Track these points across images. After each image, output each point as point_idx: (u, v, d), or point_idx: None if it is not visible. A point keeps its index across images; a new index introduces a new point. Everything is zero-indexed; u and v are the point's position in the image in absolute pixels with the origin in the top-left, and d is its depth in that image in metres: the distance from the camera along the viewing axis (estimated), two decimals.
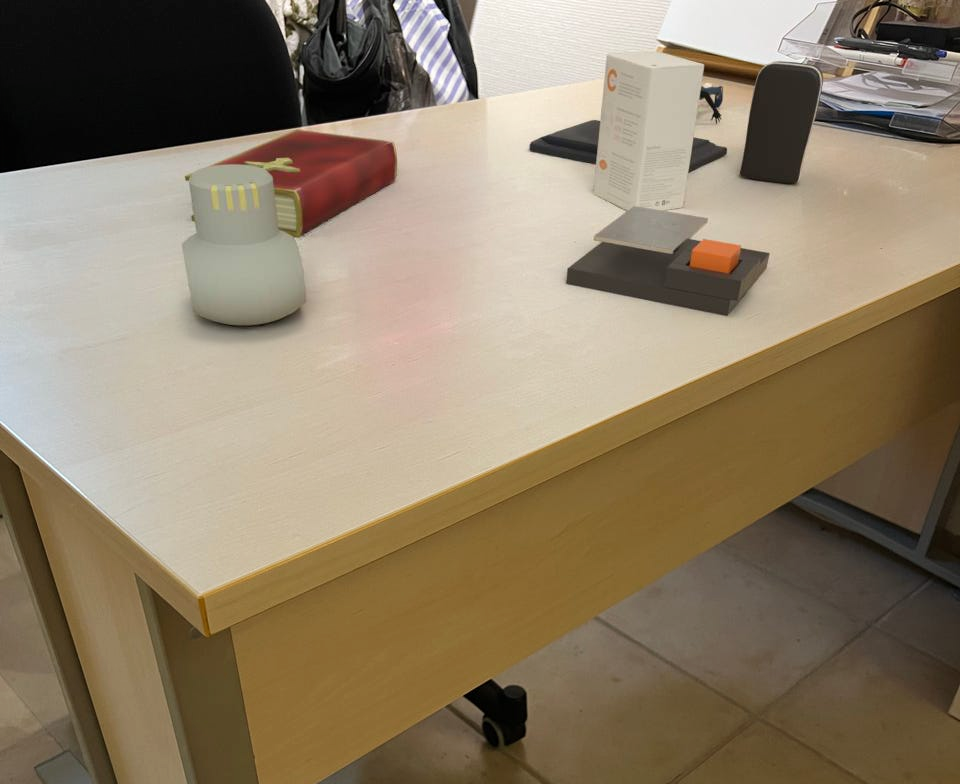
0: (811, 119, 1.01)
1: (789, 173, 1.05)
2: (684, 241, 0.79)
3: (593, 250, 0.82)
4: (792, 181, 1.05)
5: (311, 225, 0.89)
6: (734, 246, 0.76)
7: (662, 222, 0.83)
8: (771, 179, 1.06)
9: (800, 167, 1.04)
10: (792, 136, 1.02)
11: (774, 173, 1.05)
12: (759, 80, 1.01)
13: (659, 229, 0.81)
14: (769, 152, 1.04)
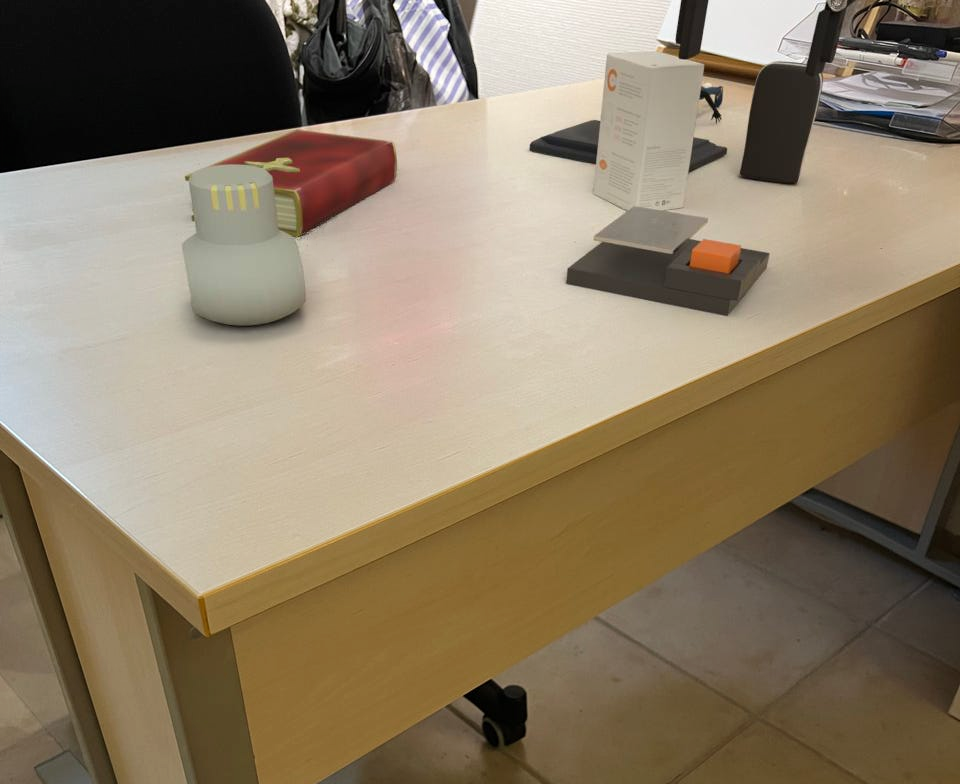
0: (811, 119, 1.01)
1: (789, 173, 1.05)
2: (684, 241, 0.79)
3: (593, 250, 0.82)
4: (792, 181, 1.05)
5: (311, 225, 0.89)
6: (734, 246, 0.76)
7: (662, 222, 0.83)
8: (771, 179, 1.06)
9: (800, 167, 1.04)
10: (792, 136, 1.02)
11: (774, 173, 1.05)
12: (759, 80, 1.01)
13: (659, 229, 0.81)
14: (769, 152, 1.04)
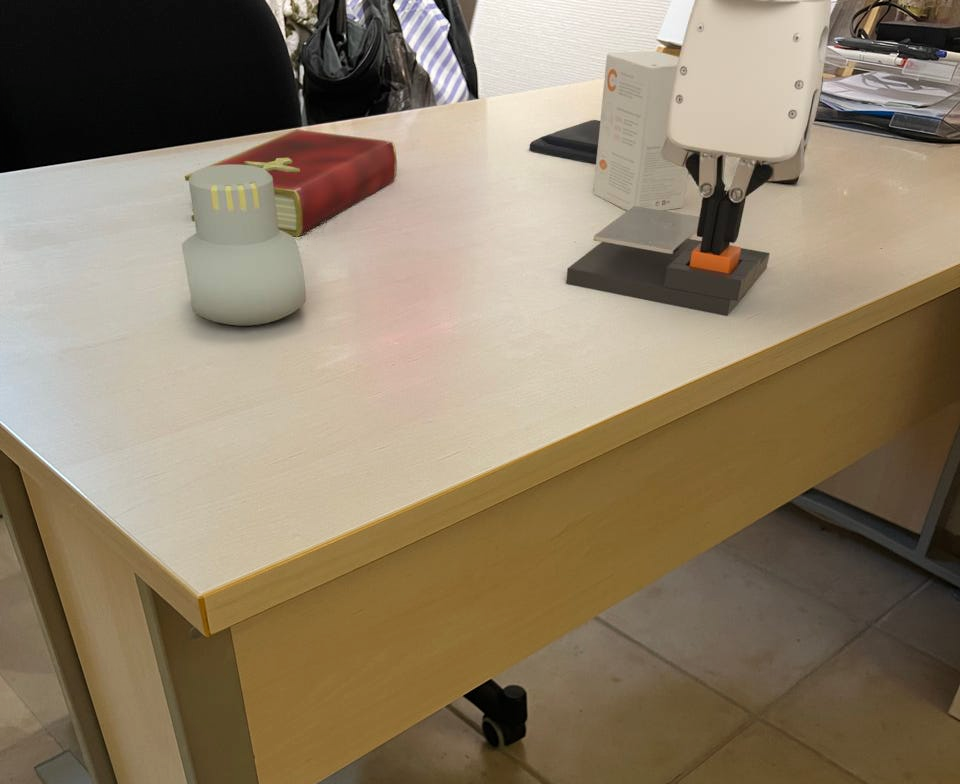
0: None
1: None
2: (684, 241, 0.79)
3: (593, 250, 0.82)
4: (792, 181, 1.05)
5: (311, 225, 0.89)
6: (734, 248, 0.76)
7: (662, 222, 0.83)
8: None
9: None
10: None
11: None
12: None
13: (659, 229, 0.81)
14: None
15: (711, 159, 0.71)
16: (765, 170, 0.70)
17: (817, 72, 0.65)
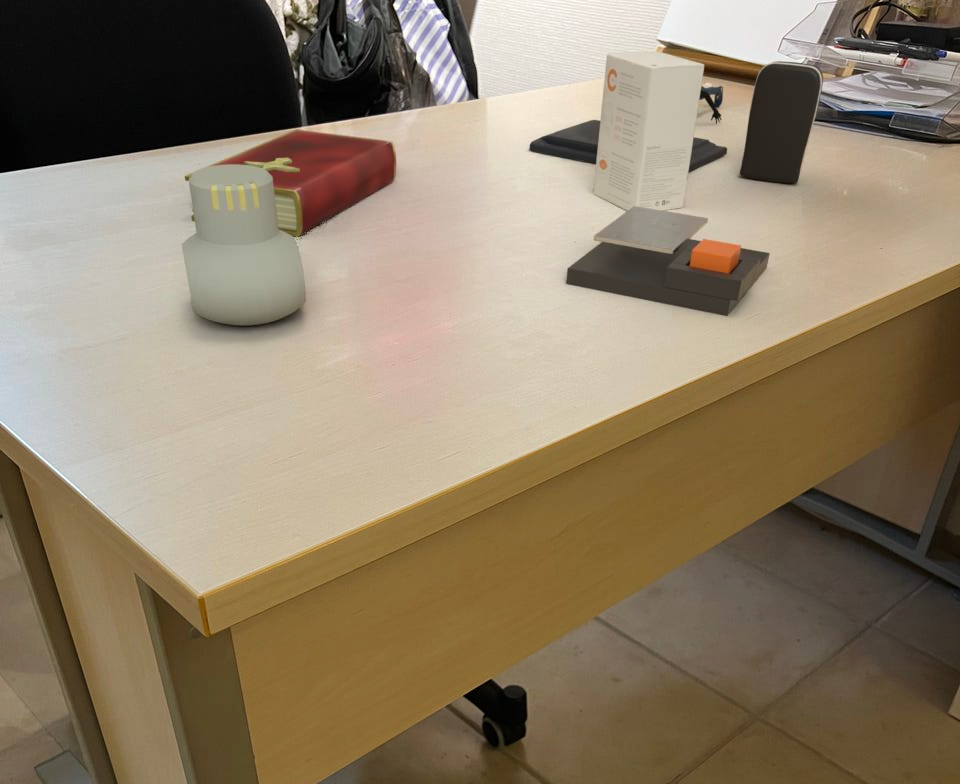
0: (811, 119, 1.01)
1: (789, 173, 1.05)
2: (684, 241, 0.79)
3: (593, 250, 0.82)
4: (792, 181, 1.05)
5: (311, 225, 0.89)
6: (734, 246, 0.76)
7: (662, 222, 0.83)
8: (771, 179, 1.06)
9: (800, 167, 1.04)
10: (792, 136, 1.02)
11: (774, 173, 1.05)
12: (759, 80, 1.01)
13: (659, 229, 0.81)
14: (769, 152, 1.04)
15: None
16: None
17: None
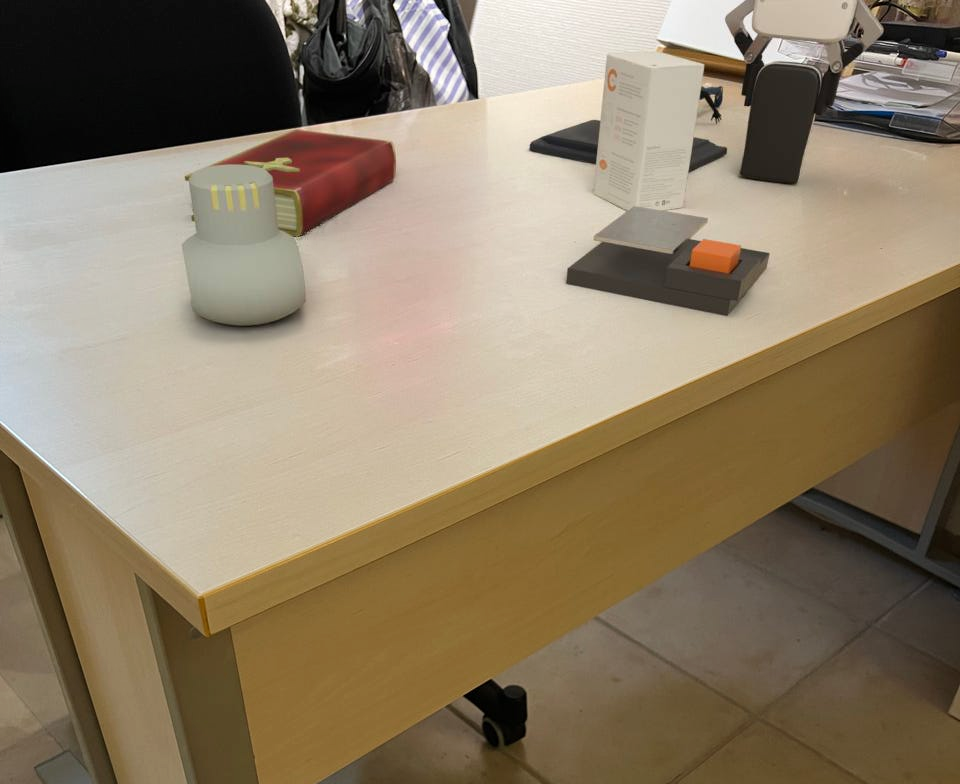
0: (811, 119, 1.01)
1: (789, 173, 1.05)
2: (684, 241, 0.79)
3: (593, 250, 0.82)
4: (792, 181, 1.05)
5: (311, 225, 0.89)
6: (734, 246, 0.76)
7: (662, 222, 0.83)
8: (771, 179, 1.06)
9: (800, 167, 1.04)
10: (792, 136, 1.02)
11: (774, 173, 1.05)
12: (759, 80, 1.01)
13: (659, 229, 0.81)
14: (769, 152, 1.04)
15: (764, 39, 0.99)
16: (858, 47, 0.96)
17: None
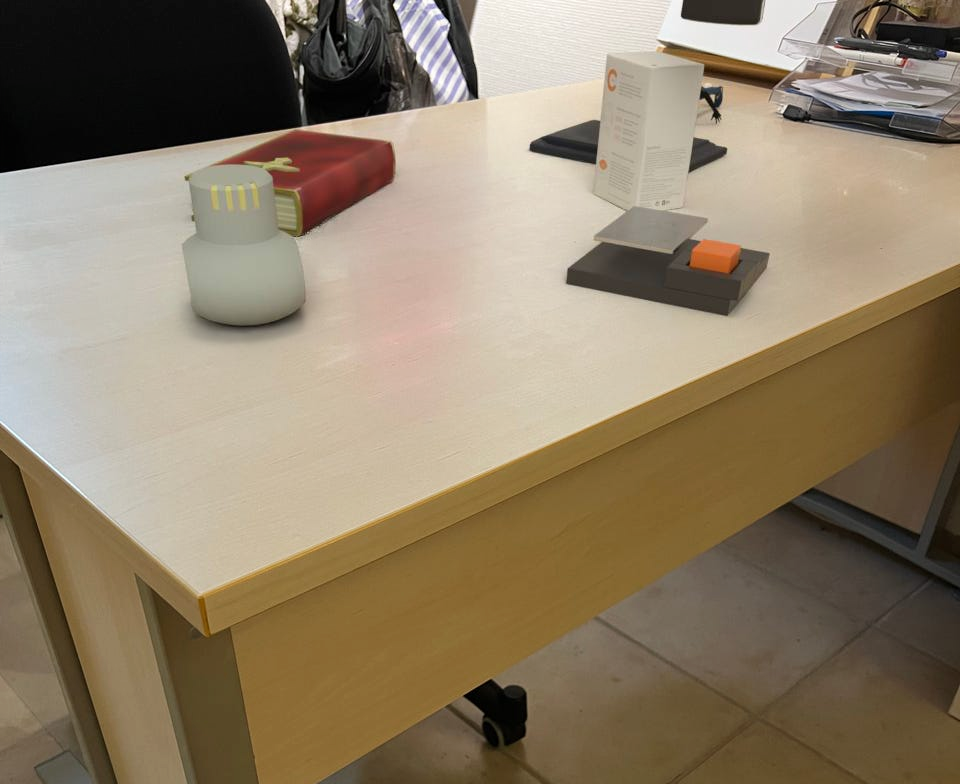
0: None
1: (747, 9, 0.76)
2: (684, 241, 0.79)
3: (593, 250, 0.82)
4: (751, 21, 0.77)
5: (311, 225, 0.89)
6: (734, 246, 0.76)
7: (662, 222, 0.83)
8: (723, 20, 0.77)
9: (762, 0, 0.76)
10: None
11: (726, 11, 0.77)
12: None
13: (659, 229, 0.81)
14: None
15: None
16: None
17: None
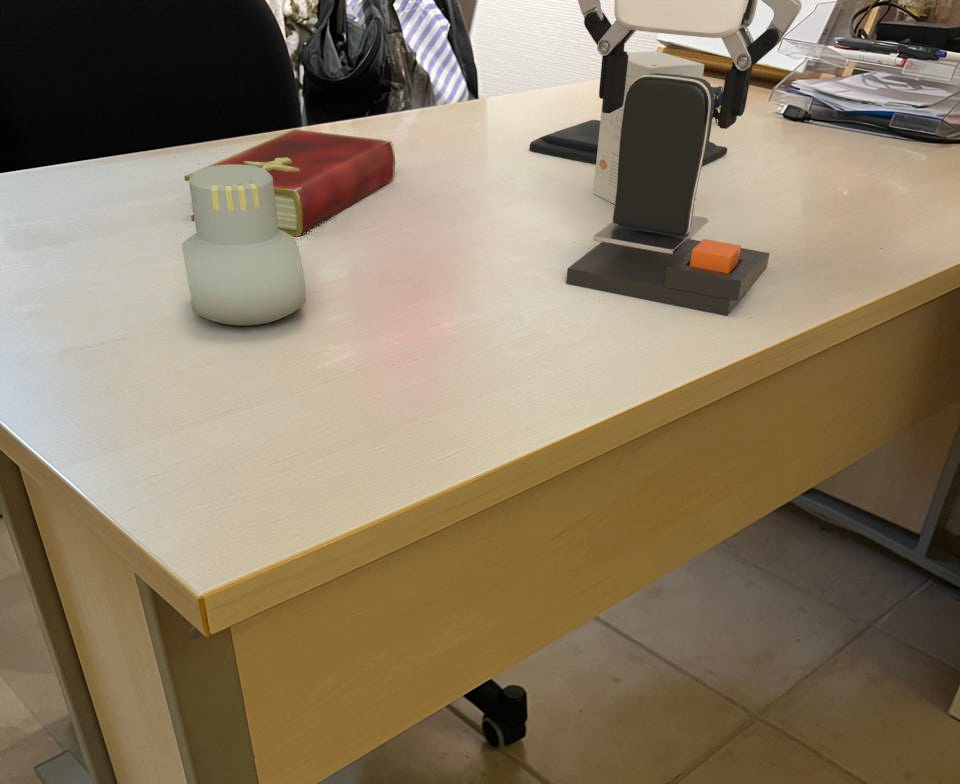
0: (699, 151, 0.75)
1: (675, 221, 0.79)
2: (684, 241, 0.79)
3: (593, 250, 0.82)
4: (679, 231, 0.79)
5: (311, 225, 0.89)
6: (734, 246, 0.76)
7: None
8: (653, 228, 0.80)
9: (689, 213, 0.78)
10: (676, 173, 0.77)
11: (656, 221, 0.79)
12: (629, 98, 0.75)
13: None
14: (648, 193, 0.78)
15: (625, 28, 0.73)
16: (772, 34, 0.69)
17: None
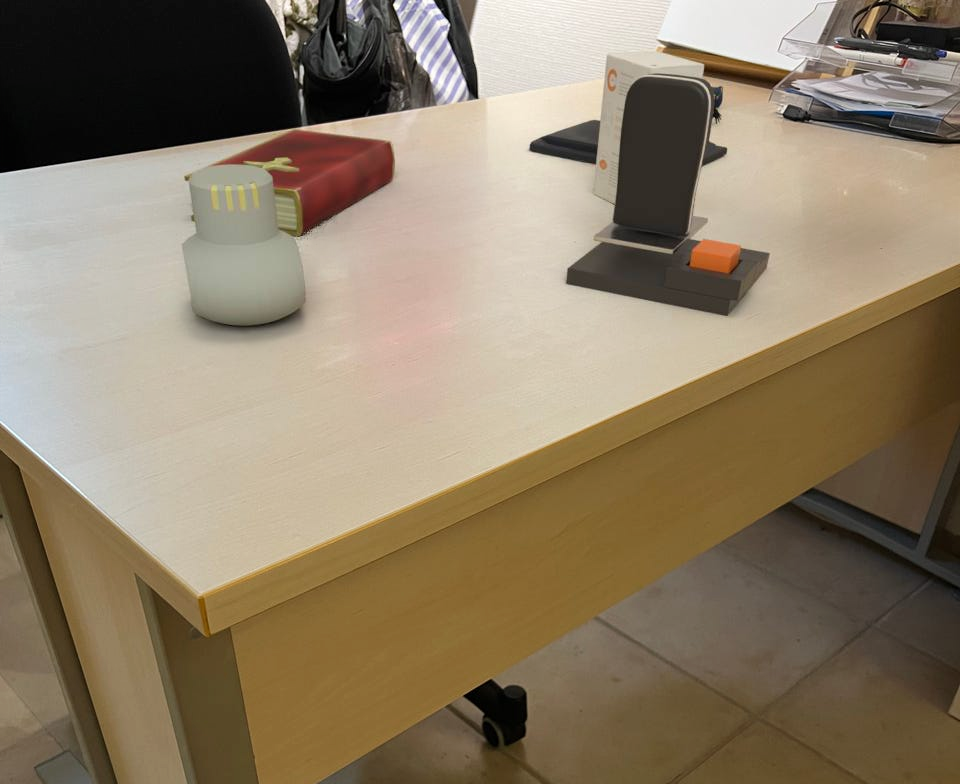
0: (699, 151, 0.75)
1: (675, 221, 0.79)
2: (684, 241, 0.79)
3: (593, 250, 0.82)
4: (679, 231, 0.79)
5: (311, 225, 0.89)
6: (734, 246, 0.76)
7: None
8: (653, 228, 0.80)
9: (689, 213, 0.78)
10: (676, 173, 0.77)
11: (656, 221, 0.79)
12: (629, 98, 0.75)
13: None
14: (648, 193, 0.78)
15: None
16: None
17: None
